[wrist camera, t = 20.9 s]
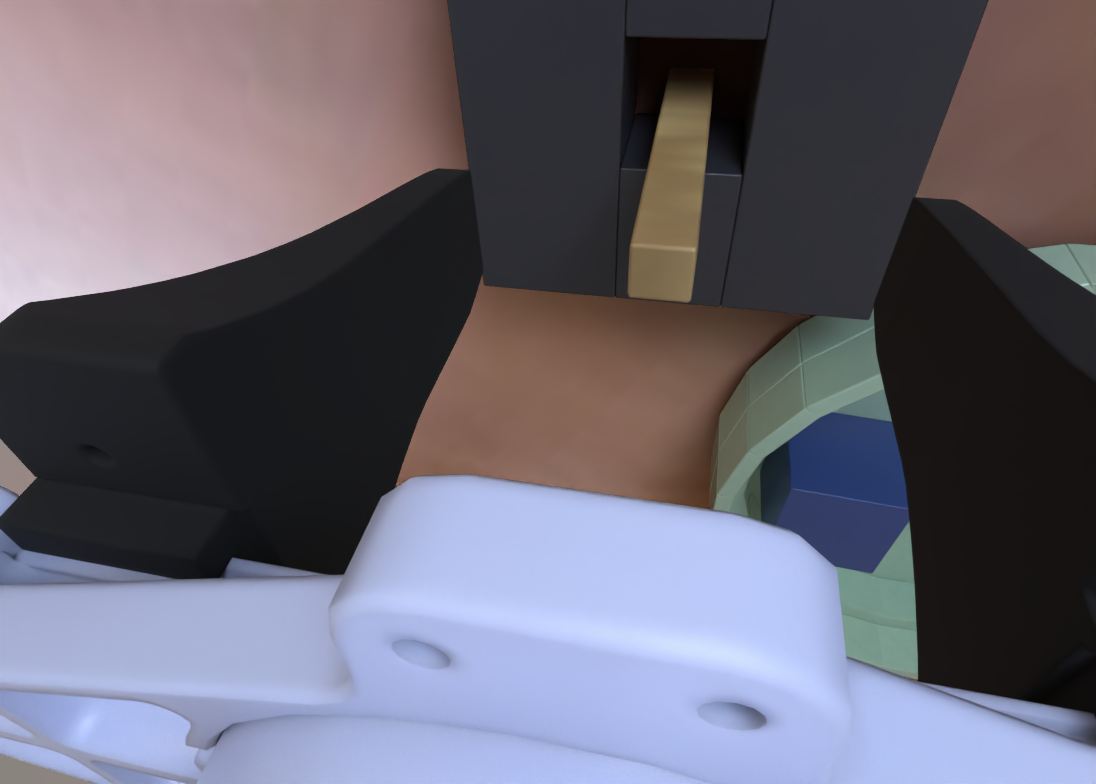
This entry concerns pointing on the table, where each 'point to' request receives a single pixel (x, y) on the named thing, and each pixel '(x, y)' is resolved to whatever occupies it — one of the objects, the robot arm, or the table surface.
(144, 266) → the table surface
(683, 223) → the stick
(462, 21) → the stand
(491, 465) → the table surface
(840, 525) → the block
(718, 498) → the bowl
